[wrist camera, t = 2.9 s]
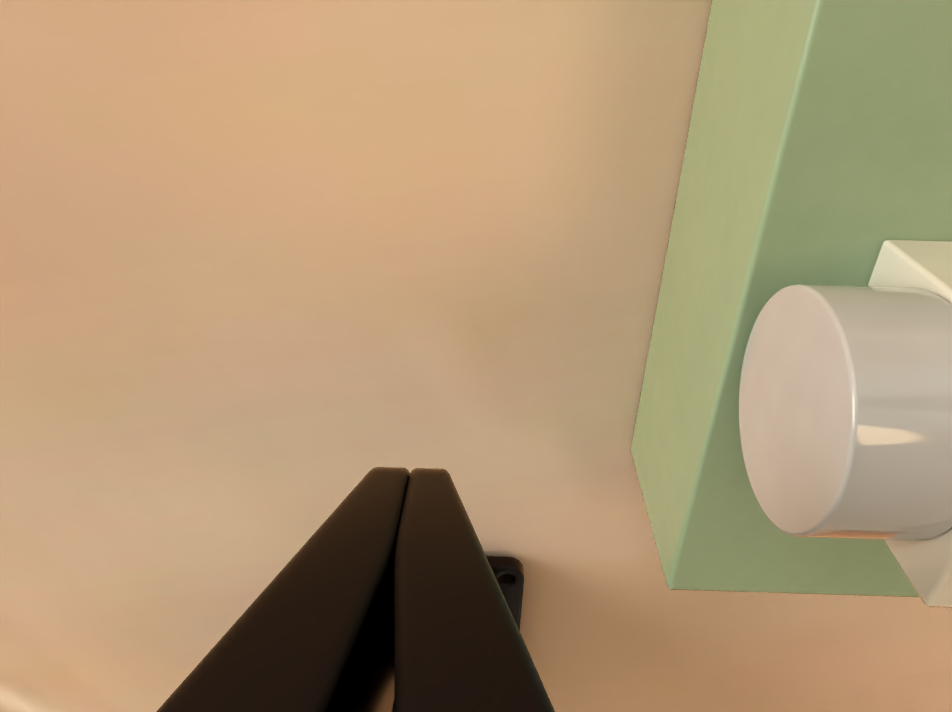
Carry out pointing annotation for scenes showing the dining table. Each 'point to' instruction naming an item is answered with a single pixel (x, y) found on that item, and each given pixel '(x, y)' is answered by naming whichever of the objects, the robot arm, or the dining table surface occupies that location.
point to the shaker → (859, 411)
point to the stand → (782, 256)
